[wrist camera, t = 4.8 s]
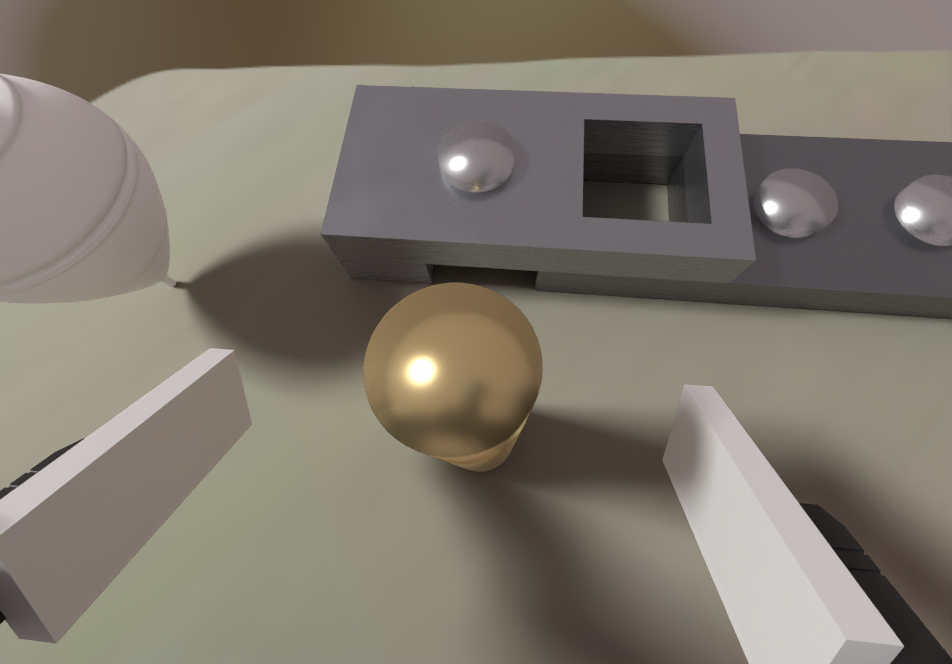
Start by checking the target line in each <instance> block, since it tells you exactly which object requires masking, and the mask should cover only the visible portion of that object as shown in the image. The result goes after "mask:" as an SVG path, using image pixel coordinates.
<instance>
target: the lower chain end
mask: <svg viewBox="0 0 952 664" xmlns="http://www.w3.org/2000/svg"><path fill="white" fill-rule="evenodd" d="M740 140H741V148H742V156H743V163H744V171H745V179H746V187H747V194H748V202H749V210H750V218H751V225H752V233H753V241H754V248H755V256H756V261H755V262H754V263H752V264H751V265H750V266H749V267H748V268H747V269H745V270H744V271H743V272H742V273H741V274H739V275H738V276H737V277H736V278H735V279H734V280H732V281H731V282H730V283H716V282H700V281H685V280H669V279H654V278H638V277H623V276H607V275H591V274H576V273H560V272H545V271H536V274H535V290H538V291H552V292H567V293H582V294H597V295H612V296H626V297H641V298H656V299H671V300H686V301H700V302H715V303H730V304H745V305H760V306H774V307H789V308H804V309H819V310H834V311H848V312H863V313H878V314H893V315H908V316H922V317H937V318H952V142H927V141H902V140H877V139H852V138H827V137H802V136H777V135H752V134H740ZM583 180H589V181H609V182H630V183H650V184H667V189H668V206H669V222H685V223H688V216H687V202H686V189H685V176H684V162H683V157H676V156H653V155H631V154H608V153H585V152H584V162H583Z"/></svg>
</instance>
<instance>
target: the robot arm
mask: <svg viewBox="0 0 952 664" xmlns="http://www.w3.org/2000/svg"><path fill="white" fill-rule="evenodd" d="M251 425H252V422H251V417H250V413H249V409H248V405H247V401H246V397H245V392H244V388H243V384H242V380H241V376H240V372H239V367H238V363H237V359H236V355H235V351H234V350H226V349H213V348H210V349H208V350H207V351H205V352H204V353H203V354H201V355H200V356H199V357H197V358H196V359H194V360H193V361H192V362H190V363H189V364H187V365H186V366H185V367H183V368H182V369H180V370H179V371H178V372H176V373H175V374H174V375H172V376H171V377H169V378H168V379H167V380H165V381H164V382H162V383H161V384H160V385H158V386H157V387H156V388H154V389H153V390H151V391H150V392H149V393H147V394H146V395H144V396H143V397H142V398H140V399H139V400H138V401H136V402H135V403H133V404H132V405H131V406H129V407H128V408H126V409H125V410H124V411H122V412H121V413H120V414H118V415H117V416H115V417H114V418H113V419H111V420H110V421H108V422H107V423H106V424H104V425H103V426H102V427H100V428H99V429H97V430H96V431H95V432H93V433H92V434H90V435H89V436H88V437H86V438H83V439H81V440H79V441H77V442H75V443H73V444H71V445H69V446H67V447H65V448H63V449H61V450H59V451H56V452H55V453H53V454H52V455H50V456H49V457H47V458H46V459H45V460H43V461H42V462H40V463H39V464H38V465H36V466H35V467H33V468H32V469H31V471H30V473H25V474H23V475H22V476H21V477H19V478H18V479H16V480H15V481H13V482H12V483H11V484H10V487H9V488H4V489H2V490H1V491H0V624H1V623H2V622H3V621H4V620H6V621H7V623H8V624H9V626H10V627H11V628H12V630H13V631H14V632H15V634H16V635H17V636H18V638H19V639H27V640H34V641H42V642H50V643H57V642H58V641H59V640H60V639H61V638H62V636H63V635H64V634H65V633H66V632H67V631H68V630H69V629H70V628H71V626H72V625H73V624H74V623H75V622H76V621H77V620H78V619H79V617H80V616H81V615H82V614H83V613H84V612H85V611H86V610H87V608H88V607H89V606H90V605H91V604H92V603H93V602H94V601H95V600H96V598H97V597H98V596H99V595H100V594H101V593H102V592H103V591H104V589H105V588H106V587H107V586H108V585H109V584H110V583H111V582H112V580H113V579H114V578H115V577H116V576H117V575H118V574H119V573H120V572H121V570H122V569H123V568H124V567H125V566H126V565H127V564H128V563H129V561H130V560H131V559H132V558H133V557H134V556H135V555H136V554H137V553H138V551H139V550H140V549H141V548H142V547H143V546H144V545H145V544H146V542H147V541H148V540H149V539H150V538H151V537H152V536H153V535H154V533H155V532H156V531H157V530H158V529H159V528H160V527H161V526H162V525H163V523H164V522H165V521H166V520H167V519H168V518H169V517H170V516H171V514H172V513H173V512H174V511H175V510H176V509H177V508H178V507H179V505H180V504H181V503H182V502H183V501H184V500H185V499H186V498H187V497H188V495H189V494H190V493H191V492H192V491H193V490H194V489H195V488H196V486H197V485H198V484H199V483H200V482H201V481H202V480H203V479H204V477H205V476H206V475H207V474H208V473H209V472H210V471H211V470H212V469H213V467H214V466H215V465H216V464H217V463H218V462H219V461H220V460H221V458H222V457H223V456H224V455H225V454H226V453H227V452H228V451H229V449H230V448H231V447H232V446H233V445H234V444H235V443H236V442H237V441H238V439H239V438H240V437H241V436H242V435H243V434H244V433H245V432H246V430H247V429H248V428H249V427H250V426H251ZM662 461H663V463H664V465H665V468H666V470H667V473H668V475H669V477H670V480H671V482H672V484H673V487H674V489H675V491H676V494H677V496H678V498H679V501H680V503H681V505H682V508H683V510H684V512H685V515H686V517H687V519H688V522H689V524H690V527H691V529H692V531H693V534H694V536H695V538H696V541H697V543H698V545H699V548H700V550H701V552H702V555H703V557H704V559H705V562H706V564H707V566H708V569H709V571H710V574H711V576H712V578H713V581H714V583H715V585H716V588H717V590H718V592H719V595H720V597H721V599H722V602H723V604H724V606H725V609H726V611H727V613H728V616H729V618H730V620H731V623H732V625H733V628H734V630H735V632H736V635H737V637H738V639H739V642H740V644H741V646H742V649H743V651H744V653H745V656H746V658H747V660H748V663H749V664H952V659H951V657H950V656H949V655H948V654H947V652H946V651H945V650H944V649H943V648H942V646H941V645H940V644H939V643H938V641H937V640H936V639H935V638H934V636H933V635H932V634H931V633H930V631H929V630H928V629H927V628H926V627H925V625H924V624H923V623H922V622H921V620H920V619H919V618H918V617H917V615H916V614H915V613H914V612H913V610H912V609H911V608H910V607H909V606H908V604H907V603H906V602H905V601H904V599H903V598H902V597H901V596H900V594H899V593H898V592H897V591H896V589H895V588H894V587H893V586H892V585H891V583H890V582H889V581H888V580H887V578H886V577H885V576H882V575H881V574H880V570H879V568H878V567H877V566H876V565H875V563H874V562H873V561H872V560H871V559H870V557H869V556H868V555H865V554H864V552H863V551H864V550H863V549H862V547H861V546H860V545H859V544H858V542H857V541H856V540H855V539H854V538H853V536H852V535H851V534H850V533H849V531H848V530H847V529H846V528H845V526H843V525H842V524H841V523H840V522H838V521H837V520H836V519H835V518H833V517H832V516H831V515H830V514H828V513H827V512H826V511H825V510H823V509H822V508H821V507H820V506H818V505H813V504H802V503H798V502H797V500H796V499H795V498H794V496H793V495H792V493H791V492H790V491H789V489H788V488H787V487H786V485H785V484H784V483H783V481H782V480H781V479H780V477H779V476H778V474H777V473H776V472H775V470H774V469H773V468H772V466H771V465H770V464H769V462H768V461H767V460H766V458H765V457H764V455H763V454H762V453H761V451H760V450H759V449H758V447H757V446H756V445H755V443H754V442H753V441H752V439H751V438H750V437H749V435H748V434H747V432H746V431H745V430H744V428H743V427H742V426H741V424H740V423H739V422H738V420H737V419H736V418H735V416H734V415H733V413H732V412H731V411H730V409H729V408H728V407H727V405H726V404H725V403H724V401H723V400H722V399H721V397H720V396H719V395H718V393H717V392H716V390H715V389H714V388H713V387H712V386H699V385H686V384H684V387H683V391H682V394H681V398H680V401H679V404H678V408H677V411H676V415H675V418H674V422H673V425H672V429H671V432H670V435H669V439H668V442H667V446H666V449H665V453H664V456H663V460H662Z"/></svg>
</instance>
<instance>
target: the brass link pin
mask: <svg viewBox="0 0 952 664" xmlns="http://www.w3.org/2000/svg"><path fill="white" fill-rule="evenodd" d="M363 375H364V386H365V392H366V395H367V398H368V402H369V404H370V406H371V408H372V411H373V413H374V414H375V416H376V417H377V419H378V421H379V422H380V423H381V424H382V426H383V427H384V428H385V429H386V430H387V431H388V432H389V433H390V434H391V435H392V436H393V437H394V438H395V439H397V440H398V441H400V442H401V443H403V444H404V445H406V446H408V447H410V448H412V449H414V450H416V451H418V452H421V453H424V454H427V455H429V456H432V457H435V458H437V459H440V460H443V461H446V462H448V463H451V464H454V465H456V466H459V467H462V468H464V469H467V470H470V471H475V472H485V471H489V470H492V469H495V468H496V467H498V466H500V465H501V464H502V463H503V462H504V461H505V460H506V459H507V458H508V456H509V455H510V453H511V451H512V449H513V447H514V445H515V443H516V441H517V439H518V437H519V435H520V433H521V430H522V428H523V426H524V424H525V422H526V420H527V418H528V416H529V414H530V412H531V410H532V408H533V406H534V403H535V401H536V398H537V396H538V393H539V389H540V385H541V379H542V355H541V349H540V345H539V342H538V339H537V336H536V334H535V332H534V330H533V327H532V326H531V324H530V323H529V321H528V319H527V318H526V317H525V315H524V314H523V313H522V312H521V311H520V309H518V308H517V307H516V306H515V305H514V304H513V303H512V302H511V301H509V300H508V299H506V298H505V297H504V296H502V295H500V294H498V293H497V292H495V291H493V290H490V289H488V288H485V287H482V286H478V285H474V284H468V283H443V284H437V285H433V286H429V287H426V288H423V289H420V290H418V291H416V292H414V293H412V294H410V295H408V296H407V297H405V298H404V299H402V300H401V301H399V302H398V303H397V304H396V305H395V306H393V307H392V308H391V309H390V310H389V311H388V312H387V313H386V314H385V316H384V317H383V318H382V319H381V321H380V322H379V324H378V325H377V327H376V328H375V330H374V332H373V334H372V336H371V338H370V341H369V343H368V346H367V350H366V354H365V359H364V367H363Z"/></svg>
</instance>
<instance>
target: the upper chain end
mask: <svg viewBox="0 0 952 664" xmlns="http://www.w3.org/2000/svg"><path fill="white" fill-rule="evenodd" d="M584 152H585V153H608V154H631V155H653V156H676V157H683V162H684V176H685V189H686V202H687V216H688V223H685V222H666V221H648V220H630V219H612V218H593V217H583V162H584ZM321 235H322V237H323V238H324V240H325V241H326V242H327V244H328V245H329V247H330V248H331V249H332V251H333V252H334V254H335V255H336V256H337V258H338V259H339V261H340V262H341V263H342V265H343V266H344V268H345V269H346V270H347V272H348V273H349V275H350V276H351V277H352V278H360V279H375V280H390V281H404V282H419V283H432V277H433V270H434V264H436V265H451V266H467V267H483V268H498V269H514V270H529V271H545V272H560V273H576V274H591V275H607V276H623V277H638V278H654V279H669V280H685V281H700V282H716V283H730V282H731V281H732V280H734V279H735V278H736V277H737V276H738V275H739V274H741V273H742V272H743V271H744V270H745V269H747V268H748V267H749V266H750V265H751V264H752V263H754V262H755V261H756V256H755V248H754V241H753V233H752V225H751V218H750V210H749V202H748V194H747V187H746V179H745V171H744V163H743V156H742V148H741V140H740V133H739V125H738V117H737V109H736V102H735V98H718V97H689V96H659V95H630V94H600V93H571V92H542V91H512V90H483V89H454V88H424V87H395V86H365V85H357V86H356V91H355V95H354V99H353V103H352V107H351V111H350V115H349V119H348V124H347V128H346V132H345V136H344V140H343V144H342V148H341V152H340V157H339V161H338V165H337V169H336V173H335V177H334V181H333V185H332V190H331V194H330V198H329V202H328V206H327V210H326V214H325V218H324V223H323V227H322V231H321Z"/></svg>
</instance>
